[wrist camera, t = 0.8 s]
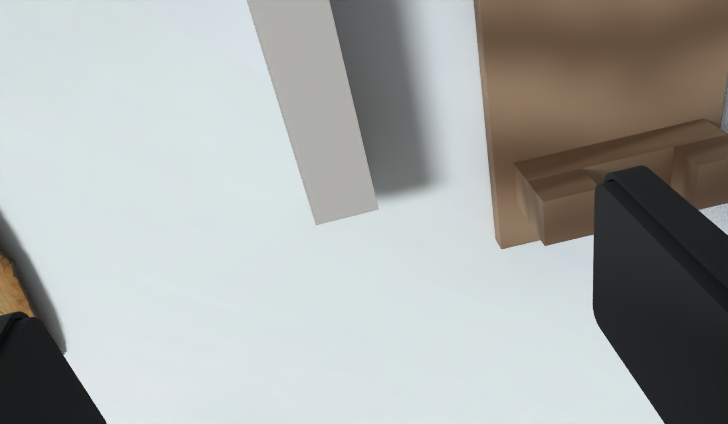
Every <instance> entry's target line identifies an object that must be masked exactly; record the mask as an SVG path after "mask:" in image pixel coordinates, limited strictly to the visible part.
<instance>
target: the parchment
mask: <svg viewBox="0 0 728 424" xmlns="http://www.w3.org/2000/svg"><path fill="white" fill-rule="evenodd" d="M17 311H20V312H24V313H26V314H27V315H28V316H29V317H36V318H38V319H39V320H40V318H39V317H38V315H37V313H36V311H35V308H34V306H33V304H32V302H31V300H30V297H29V295H28V294H27V292H26V291H25V288H24V286H23V285H22V282H21V280H20V278H19V276H17V271H16V264H15V262H14V261H12V260H10V259H9V258H8V257H7V256H4V255H3V254H2V253H1V251H0V315H4V314H8V313H12V312H17ZM40 321H41V320H40ZM41 322H42V321H41Z"/></svg>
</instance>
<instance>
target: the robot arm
mask: <svg viewBox="0 0 728 424" xmlns="http://www.w3.org/2000/svg"><path fill="white" fill-rule="evenodd" d="M593 311H594V316H595V319H596V321H597V324H598V326H599V327H600V329H601V330H602V332H603V333H604V335H605V336H606V338H607V339H608V341H609V342H610V344H611V345H612V347H613V348H614V350H615V351H616V352H617V354H618V355H619V357H620V358H621V360H622V361H623V363H624V364H625V366H626V367H627V369H628V370H629V372H630V373H631V375H632V376H633V377H634V379H635V380H636V382H637V383H638V385H639V386H640V388H641V389H642V391H643V392H644V394H645V395H646V397H647V398H648V400H649V401H650V402H651V404H652V405H653V407H654V408H655V410H656V411H657V413H658V414H659V416H660V417H661V419H662V420H663V422H664V423H665V424H728V235H727V234H725V233H724V232H723V231H722V230H721V229H720V228H718V227H717V226H716V225H715V224H714V223H713V222H711V221H710V220H709V219H708V218H707V217H706V216H704V215H703V214H702V213H701V212H700V211H698V210H697V209H696V208H695V207H694V206H693V205H691V204H690V203H689V202H688V201H687V200H686V199H684V198H683V197H682V196H681V195H680V194H679V193H677V192H676V191H675V190H674V189H673V188H671V187H670V186H669V185H668V184H667V183H666V182H664V181H663V180H662V179H661V178H660V177H659V176H657V175H656V174H655V173H654V172H653V171H652V170H650V169H649V168H648V167H646V166H644V165H640V166H635V167H631V168H627V169H623V170H618V171H614V172H610V173H608V174H607V175H606V176H605V178H604V183H601V184H598V185H597V186H596V188H595V197H594V260H593ZM0 424H107V423H106V421H105V419H104V418H103V416H102V415H101V413H100V412H99V410H98V408H97V407H96V405H95V404H94V402H93V401H92V399H91V398H90V396H89V395H88V393H87V391H86V390H85V388H84V387H83V385H82V384H81V382H80V381H79V379H78V378H77V376H76V374H75V373H74V371H73V370H72V368H71V367H70V365H69V364H68V362H67V361H66V359H65V357H64V356H63V354H62V353H61V351H60V350H59V348H58V347H57V345H56V344H55V342H54V340H53V339H52V337H51V336H50V334H49V333H48V331H47V330H46V328H45V327H44V325H43V323H42V322H41V321H40V320H39V319H38V318H36V317H29V316H28V315H27V314H26V313H24V312H20V311H17V312H12V313H8V314H4V315H0Z"/></svg>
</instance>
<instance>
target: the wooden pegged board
mask: <svg viewBox="0 0 728 424" xmlns="http://www.w3.org/2000/svg"><path fill="white" fill-rule="evenodd" d="M474 9H475V20H476V31H477V42H478V52H479V63H480V74H481V85H482V96H483V107H484V118H485V128H486V139H487V150H488V161H489V172H490V183H491V194H492V205H493V215H494V226H495V237H496V241H497V243H498V244H499V246H500V248H501V249H505V248H509V247H513V246H517V245H522V244H526V243H530V242H534V241H539V240H541V241H542V243H543V244H544V246H547V245H551V244H555V243H559V242H564V241H568V240H572V239H576V238H581V237H585V236H589V235H593V234H594V197H595V188H596V186H597V185H598V184H601V183H604V178H605V176H606V175H607V174H608V173H610V172H614V171H618V170H623V169H627V168H631V167H635V166H640V165H644V166H646V167H648V168H649V169H650V170H652V171H653V172H654V173H655V174H656V175H657V176H659V177H660V178H661V179H662V180H663V181H664V182H666V183H667V184H668V185H669V186H670V187H671V188H673V189H674V190H675V191H676V192H677V193H679V194H680V195H681V196H682V197H683V198H684V199H686V200H687V201H688V202H689V203H690V204H691V205H693V206H694V207H695V208H696V209H697V210H700V209H704V208H708V207H713V206H717V205H721V204H725V203H728V134H727V133H726V132H724V131H722V130H721V129H720V127H721V119H722V112H723V105H724V97H725V90H726V83H727V75H728V0H474Z"/></svg>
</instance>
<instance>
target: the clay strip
mask: <svg viewBox="0 0 728 424" xmlns="http://www.w3.org/2000/svg"><path fill="white" fill-rule="evenodd" d="M247 3H248V6H249V9H250V12H251V16H252V19H253V22H254V25H255V29H256V32H257V35H258V38H259V42H260V45H261V48H262V51H263V55H264V58H265V61H266V64H267V68H268V71H269V74H270V77H271V81H272V84H273V87H274V90H275V94H276V97H277V100H278V103H279V107H280V110H281V113H282V116H283V120H284V123H285V126H286V129H287V133H288V136H289V139H290V142H291V146H292V149H293V152H294V155H295V159H296V162H297V165H298V168H299V172H300V175H301V178H302V181H303V185H304V188H305V191H306V194H307V198H308V201H309V204H310V207H311V211H312V214H313V217H314V220H315V224H316V225H319V224H323V223H327V222H331V221H335V220H339V219H343V218H346V217H350V216H354V215H358V214H362V213H366V212H370V211H374V210H378V205H377V200H376V196H375V192H374V188H373V184H372V179H371V175H370V171H369V167H368V162H367V158H366V154H365V150H364V145H363V141H362V137H361V133H360V129H359V124H358V120H357V116H356V112H355V107H354V103H353V99H352V95H351V90H350V86H349V82H348V78H347V73H346V69H345V65H344V61H343V57H342V52H341V48H340V44H339V40H338V35H337V31H336V27H335V23H334V18H333V14H332V10H331V6H330V2H329V0H247Z"/></svg>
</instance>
